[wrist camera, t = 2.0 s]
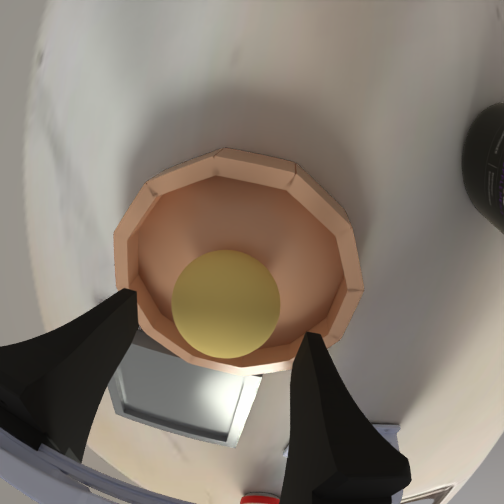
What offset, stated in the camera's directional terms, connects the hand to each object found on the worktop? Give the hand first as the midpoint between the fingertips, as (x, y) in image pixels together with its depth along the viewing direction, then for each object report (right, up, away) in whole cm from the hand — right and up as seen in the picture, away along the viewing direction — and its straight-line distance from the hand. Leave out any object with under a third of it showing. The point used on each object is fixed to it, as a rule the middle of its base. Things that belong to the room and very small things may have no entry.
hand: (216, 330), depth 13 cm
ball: (+1, +2, +4) cm, 4 cm away
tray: (-5, -8, +11) cm, 14 cm away
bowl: (+1, +2, +5) cm, 5 cm away
